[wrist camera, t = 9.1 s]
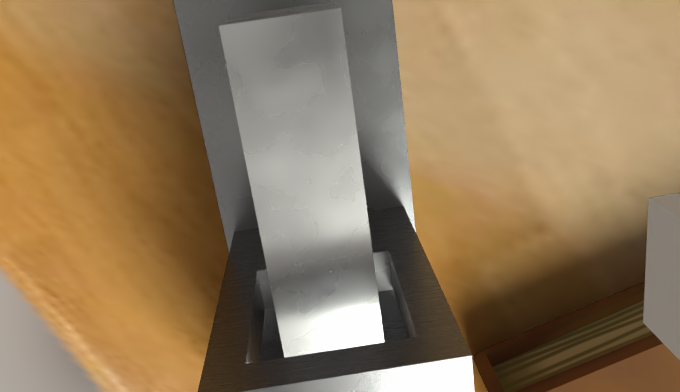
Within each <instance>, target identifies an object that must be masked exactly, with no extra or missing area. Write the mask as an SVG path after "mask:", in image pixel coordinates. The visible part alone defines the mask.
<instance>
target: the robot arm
mask: <svg viewBox="0 0 680 392" xmlns="http://www.w3.org/2000/svg"><path fill="white" fill-rule="evenodd" d="M643 323H644V324H645V325H646V326H647V327H648V328H649V329H650V330H651V331H652V332H653V333H654V334H655V335H656V336H657V337H658V338H659V339H660V341H661V342H662V343H663V344H664V345H665V346H666V347H667V348H668V349H669V350H670V351H671V352H672V353H673V354H674V355H675V356H676V357H677V358H678V359H679V360H680V193H677V194H670V195H663V196H657V197H650V198H649V203H648V225H647V247H646V269H645V291H644V313H643Z"/></svg>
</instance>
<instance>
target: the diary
mask: <svg viewBox="0 0 680 392" xmlns="http://www.w3.org/2000/svg"><path fill="white" fill-rule="evenodd" d="M644 291H645V282H643V283H641V284H638V285H636V286H634V287H631V288H629V289H627V290H624V291H622V292H620V293H617V294H615V295H612V296H610V297H608V298H605V299H603V300H601V301H598V302H596V303H594V304H591V305H589V306H586V307H584V308H582V309H579V310H577V311H575V312H572V313H570V314H568V315H565V316H563V317H561V318H558V319H556V320H553V321H551V322H549V323H546V324H544V325H542V326H539V327H537V328H535V329H532V330H530V331H527V332H525V333H523V334H520V335H518V336H516V337H513V338H511V339H509V340H506V341H504V342H502V343H499V344H497V345H494V346H492V347H490V348H487V349H485V350H483V351H480V352H478V353H477V355H476V357H475V358H474V362H475V364H476V366H477V368H478V371H479V373H480V375H481V377H482V379H483V382H484V384H485V386H486V388H487V390H488V392H680V360H679V359H678V358H677V357H676V356H675V355H674V354H673V353H672V352H671V351H670V350H669V349H668V348H667V347H666V346H665V345H664V344H663V343H662V342H661V341H660V339H659V338H658V337H657V336H656V335H655V334H654V333H653V332H652V331H651V330H650V329H649V328H648V327H647V326H646V325H645V324H644V323H643V313H644Z"/></svg>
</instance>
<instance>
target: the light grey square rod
mask: <svg viewBox="0 0 680 392" xmlns="http://www.w3.org/2000/svg"><path fill="white" fill-rule="evenodd" d="M219 30H220V35H221V40H222V45H223V50H224V55H225V60H226V66H227V71H228V76H229V81H230V86H231V91H232V96H233V101H234V106H235V111H236V116H237V121H238V126H239V131H240V136H241V141H242V146H243V151H244V156H245V161H246V166H247V171H248V176H249V181H250V186H251V192H252V197H253V202H254V207H255V212H256V217H257V222H258V227H259V232H260V237H261V242H262V247H263V252H264V257H265V262H266V267H267V272H268V277H269V282H270V287H271V292H272V297H273V302H274V307H275V312H276V318H277V323H278V328H279V333H280V338H281V343H282V348H283V353H284V358H286V357H292V356H299V355H305V354H312V353H318V352H325V351H331V350H337V349H344V348H350V347H357V346H363V345H369V344H376V343H382V342H384V336H383V328H382V320H381V313H380V305H379V297H378V289H377V282H376V274H375V266H374V259H373V251H372V243H371V236H370V228H369V220H368V212H367V205H366V197H365V189H364V182H363V174H362V166H361V159H360V151H359V143H358V135H357V128H356V120H355V112H354V105H353V97H352V89H351V81H350V74H349V66H348V58H347V51H346V43H345V35H344V28H343V20H342V12H341V7H339V6H338V5H337V4H336V3H335V2H334V1H333V2H326V3H319V4H312V5H305V6H298V7H292V8H285V9H278V10H271V11H264V12H257V13H251V14H244V15H237V16H230V17H229V18H228V19H227V20H225V21H224V22H223V23H221V24H220V25H219Z"/></svg>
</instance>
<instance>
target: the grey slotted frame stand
mask: <svg viewBox="0 0 680 392" xmlns="http://www.w3.org/2000/svg"><path fill="white" fill-rule="evenodd" d="M173 1H174V6H175V10H176V15H177V19H178V24H179V28H180V33H181V38H182V42H183V47H184V51H185V56H186V60H187V65H188V69H189V74H190V78H191V83H192V87H193V92H194V97H195V101H196V106H197V110H198V115H199V119H200V124H201V128H202V133H203V137H204V142H205V147H206V151H207V156H208V160H209V165H210V169H211V174H212V178H213V183H214V187H215V192H216V196H217V201H218V206H219V210H220V215H221V219H222V224H223V228H224V233H225V237H226V242H227V246H228V251H229V256H228V260H227V265H226V269H225V274H224V278H223V282H222V287H221V291H220V296H219V300H218V305H217V309H216V313H215V318H214V322H213V327H212V331H211V335H210V340H209V344H208V349H207V353H206V357H205V362H204V366H203V371H202V375H201V380H200V384H199V388H198V392H474V378H473V364H472V355H471V353H470V350H469V348H468V346H467V344H466V342H465V339H464V337H463V335H462V333H461V331H460V329H459V326H458V324H457V322H456V320H455V318H454V315H453V313H452V311H451V309H450V307H449V304H448V302H447V300H446V298H445V296H444V293H443V291H442V289H441V287H440V285H439V282H438V280H437V278H436V276H435V274H434V272H433V269H432V267H431V265H430V263H429V261H428V258H427V256H426V254H425V252H424V250H423V247H422V245H421V243H420V241H419V239H418V236H417V234H416V230H415V220H414V211H413V201H412V191H411V181H410V171H409V161H408V151H407V142H406V132H405V122H404V112H403V102H402V92H401V82H400V73H399V63H398V53H397V43H396V33H395V23H394V13H393V4H392V0H173ZM333 1H334V2H335V3H336V4H337V5H338V6H339V7H341V12H342V20H343V28H344V35H345V43H346V51H347V58H348V66H349V74H350V81H351V89H352V97H353V105H354V112H355V120H356V128H357V135H358V143H359V151H360V159H361V166H362V174H363V182H364V189H365V197H366V205H367V212H368V220H369V228H370V236H371V243H372V251H373V259H374V266H375V274H376V282H377V289H378V297H379V305H380V313H381V320H382V328H383V336H384V342H382V343H376V344H369V345H363V346H357V347H350V348H344V349H337V350H331V351H325V352H318V353H312V354H305V355H299V356H292V357H286V358H284V353H283V348H282V343H281V338H280V333H279V328H278V323H277V318H276V312H275V307H274V302H273V297H272V292H271V287H270V282H269V277H268V272H267V267H266V262H265V257H264V252H263V247H262V242H261V237H260V232H259V227H258V222H257V217H256V212H255V207H254V202H253V197H252V192H251V186H250V181H249V176H248V171H247V166H246V161H245V156H244V151H243V146H242V141H241V136H240V131H239V126H238V121H237V116H236V111H235V106H234V101H233V96H232V91H231V86H230V81H229V76H228V71H227V66H226V60H225V55H224V50H223V45H222V40H221V35H220V30H219V25H220V24H221V23H223V22H224V21H225V20H227V19H228V18H229V17H230V16H237V15H244V14H251V13H257V12H264V11H271V10H278V9H285V8H292V7H298V6H305V5H312V4H319V3H326V2H333Z"/></svg>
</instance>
